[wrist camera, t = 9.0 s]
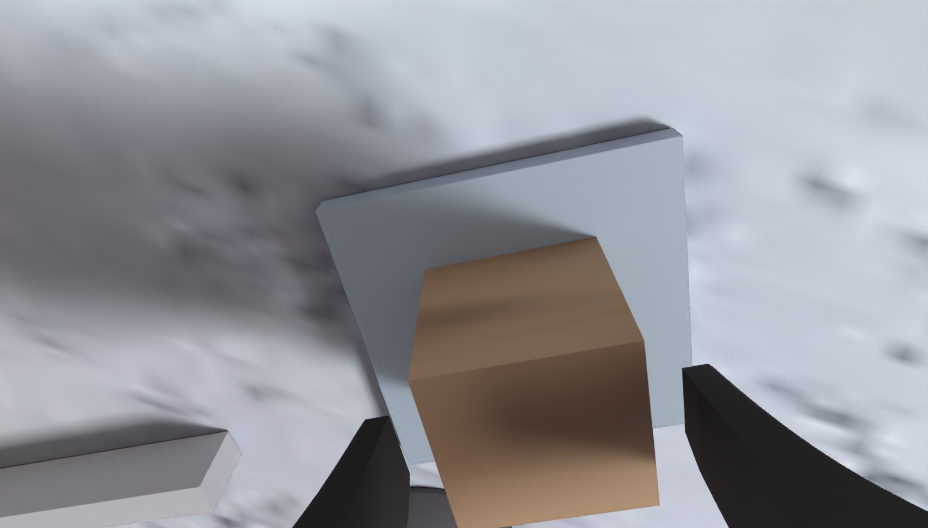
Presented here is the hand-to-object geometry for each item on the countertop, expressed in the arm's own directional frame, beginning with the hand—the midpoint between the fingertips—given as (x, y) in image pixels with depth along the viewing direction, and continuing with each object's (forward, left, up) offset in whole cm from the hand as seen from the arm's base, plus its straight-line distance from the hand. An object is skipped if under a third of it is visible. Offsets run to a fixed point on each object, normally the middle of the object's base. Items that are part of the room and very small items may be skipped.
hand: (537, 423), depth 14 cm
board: (0, 0, -5) cm, 5 cm away
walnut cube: (0, 0, -4) cm, 4 cm away
